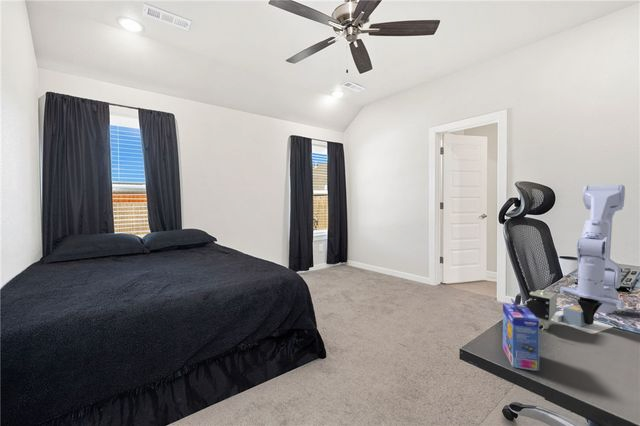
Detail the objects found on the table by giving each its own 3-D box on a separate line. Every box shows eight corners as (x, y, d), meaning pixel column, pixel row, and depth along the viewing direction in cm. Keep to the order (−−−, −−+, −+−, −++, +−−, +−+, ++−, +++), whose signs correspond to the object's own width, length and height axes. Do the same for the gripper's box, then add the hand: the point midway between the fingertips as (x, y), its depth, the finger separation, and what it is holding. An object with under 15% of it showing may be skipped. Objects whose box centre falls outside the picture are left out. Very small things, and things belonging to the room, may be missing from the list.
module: (572, 319, 93) (572, 304, 93) (589, 324, 89) (590, 309, 89) (563, 321, 91) (563, 307, 91) (580, 327, 87) (580, 311, 87)
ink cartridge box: (500, 347, 77) (502, 293, 77) (524, 350, 76) (527, 296, 75) (511, 367, 68) (513, 307, 67) (539, 372, 66) (542, 309, 66)
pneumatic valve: (556, 326, 90) (558, 288, 89) (546, 338, 82) (548, 296, 82) (535, 320, 94) (536, 284, 94) (523, 331, 87) (525, 291, 86)
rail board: (571, 316, 97) (571, 307, 97) (613, 329, 88) (614, 319, 88) (549, 322, 93) (550, 312, 93) (592, 337, 83) (592, 326, 83)
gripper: (555, 274, 92) (553, 316, 92) (616, 287, 78) (614, 336, 79) (567, 272, 94) (566, 313, 95) (629, 284, 81) (626, 331, 82)
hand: (588, 323), depth 87 cm, fingers closed
